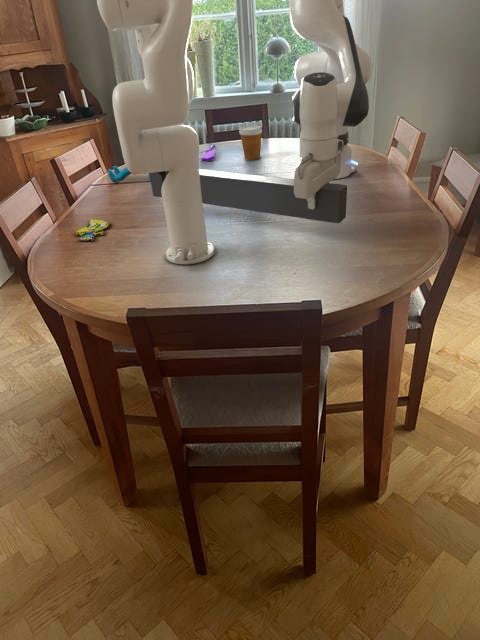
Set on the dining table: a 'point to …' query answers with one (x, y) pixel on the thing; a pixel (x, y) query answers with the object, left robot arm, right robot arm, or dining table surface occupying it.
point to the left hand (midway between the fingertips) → (173, 185)
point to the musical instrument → (209, 154)
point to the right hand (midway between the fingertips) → (317, 204)
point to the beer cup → (251, 141)
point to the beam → (265, 195)
